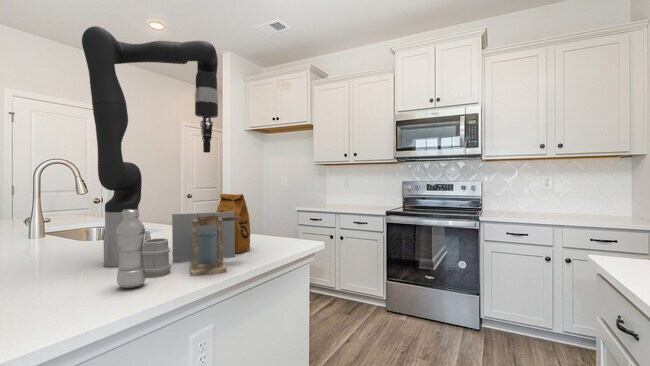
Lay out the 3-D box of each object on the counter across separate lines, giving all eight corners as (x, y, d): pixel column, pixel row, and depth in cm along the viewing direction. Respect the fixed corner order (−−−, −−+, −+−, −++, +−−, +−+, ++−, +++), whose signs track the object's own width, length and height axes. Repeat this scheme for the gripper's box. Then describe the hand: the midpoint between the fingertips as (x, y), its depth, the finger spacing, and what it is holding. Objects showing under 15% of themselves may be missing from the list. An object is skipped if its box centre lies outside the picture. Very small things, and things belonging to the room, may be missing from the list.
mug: (148, 279, 89) (147, 236, 89) (131, 271, 96) (130, 231, 96) (175, 273, 95) (175, 232, 95) (157, 266, 102) (157, 228, 102)
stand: (190, 276, 92) (189, 222, 91) (189, 269, 98) (189, 219, 98) (226, 272, 96) (226, 220, 95) (223, 266, 102) (223, 217, 102)
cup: (191, 268, 100) (191, 238, 100) (191, 261, 108) (191, 234, 108) (220, 265, 103) (220, 236, 103) (218, 258, 111) (218, 232, 111)
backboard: (172, 262, 106) (172, 214, 106) (172, 261, 107) (172, 214, 107) (234, 256, 114) (234, 211, 114) (234, 256, 115) (234, 211, 115)
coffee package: (236, 255, 116) (236, 194, 116) (212, 251, 122) (211, 193, 122) (254, 250, 125) (254, 193, 124) (231, 246, 131) (231, 192, 130)
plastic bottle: (125, 293, 78) (124, 211, 78) (111, 288, 82) (110, 210, 82) (151, 285, 84) (150, 209, 83) (137, 281, 87) (136, 207, 87)
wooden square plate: (199, 225, 90) (199, 216, 90) (197, 221, 102) (197, 213, 102) (246, 223, 95) (246, 214, 95) (239, 219, 107) (239, 211, 107)
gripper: (194, 105, 116) (194, 153, 117) (195, 97, 104) (196, 150, 105) (216, 107, 119) (216, 153, 120) (219, 99, 107) (220, 151, 108)
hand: (206, 152), depth 112 cm, fingers closed
